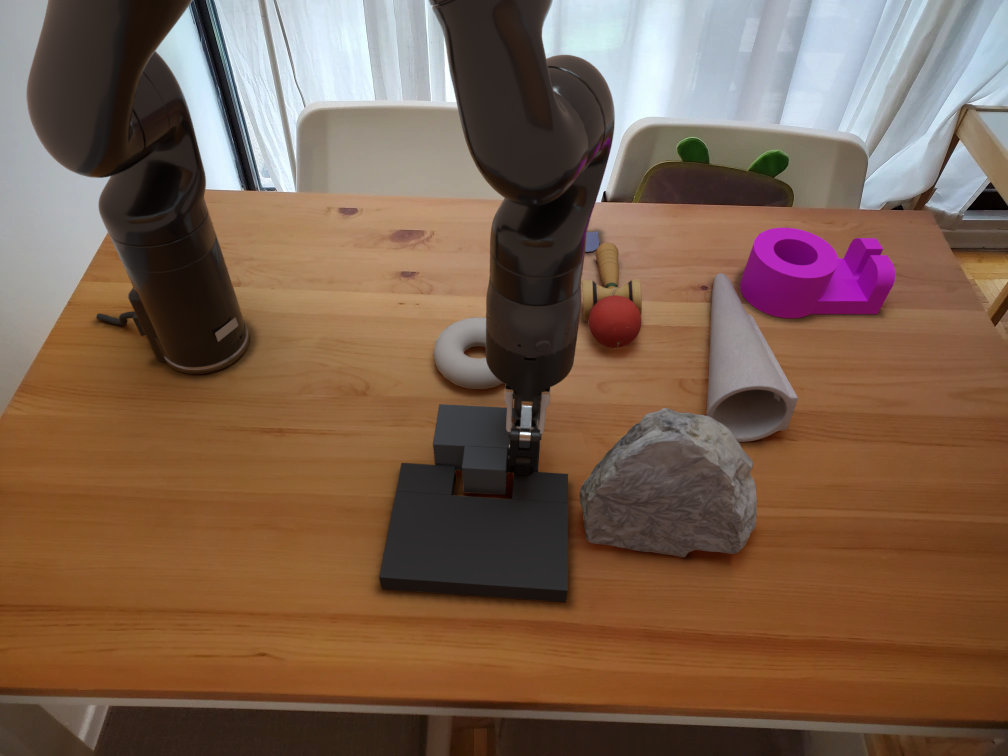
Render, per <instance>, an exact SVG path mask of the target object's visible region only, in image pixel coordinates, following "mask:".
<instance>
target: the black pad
mask: <svg viewBox="0 0 1008 756" xmlns="http://www.w3.org/2000/svg"><path fill="white" fill-rule="evenodd" d="M456 471H457V470H456V468H455V466H444V465H435V464H427V463H413V462H401V463H400V469H399V474H398V479H397V480H398V481H397V485H396V490H395V493H394V499H393V503H392V510H391V515H390V520H389V525H388V530H387V536H386V540H385V545H384V550H383V555H382V561H381V566H380V569H379V570H380V571H379V576H378V578H379V583H380V588H381V590H388V591H400V592H401V591H402V592H416V593H431V594H432V593H433V594H445V595H458V596H474V597H488V598H500V599H513V600H516V599H517V600H528V601H543V602H558V603H566V602H567V598H568V592H569V473H563V472H550V471H549V472H546V471H538V472H533V474H531V475H515V474H513V478H512V492H511V493H512V494H511V498H501V497H485V496H472V495H471V496H469V495H455V490H456V483H457V475H456V474H457V472H456Z"/></svg>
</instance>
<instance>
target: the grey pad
mask: <svg viewBox="0 0 1008 756" xmlns="http://www.w3.org/2000/svg"><path fill="white" fill-rule="evenodd" d="M437 408H438V409H437V415H436V421H435V427H434V434H433V439H432V450H433V459H434V465H444V466H455V468H456V471H460V472H461V475H462V489H463V493H466V494H483V495H499V496H501V495H502V496H505V495H506V494H507V481H508V480H507V479H508V474H512V473H511V471H510V469H511V465H509V461H508V455H509V456H510V449H509V444H510V438H509V433H508V432H507V431H506V416H507V406H506V407H502V406H484V405H466V404H465V405H464V404H447V403H446V404H445V403H440V404H438V407H437ZM539 413H540V410H539ZM539 413H538V415H537V416H536V417H535V418H532V420H537V419H538V418H539ZM512 415H513V417H514V418H515V419H520V420H521V418H519V417H517V416H516V415H515V414H514V407H513V413H512ZM540 454H541V441H540V442H539V451H538V457H539V458H540V457H541V455H540ZM539 467H540V460H539V461H538V463H537V466H536V467H534V472H539Z"/></svg>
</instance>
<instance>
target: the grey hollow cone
mask: <svg viewBox="0 0 1008 756" xmlns="http://www.w3.org/2000/svg"><path fill="white" fill-rule="evenodd" d="M711 293H712V294H711V311H710V332H709V333H710V335H709V354H708V356H709V357H708V377H707V378H708V379H707V380H708V381H707V396H706V415H705V416H709V417H711V418H713V419H714V420H715V421H717V422H719V423H722V424H723V425H725V426H726V427H727V428H728V429H730V431H731V432H732V434H733V435H734V437H735V439H736V440H737V441H738V442H739V443H746V442H747V443H748V442H753V441H758V440H761V439H765V438H767V437H769V436H771V435H773V434H775V433H777V432H779V431H787V430H788V428H789V425H790V422H791V420H792V417H793V415H794V411H795V409H796V406H797V403H798V400H799V397H798V395H797V393H796V391H795V390H794V388H793V386H792V384H791V383H790V380H789V379H788V377H787V375H786V374H785V371H784V370H783V368H782V366H781V364H780V363H779V361H778V360H777V357H776V355H775V354H774V352H773V350H772V348H771V347H770V345H769V343H768V342H767V340H766V338H765V335H764V334H763V333H762V331H761V329H760V326H758V324H757V321H756V320H755V318H754V317H753V314H748V312H747V310H746V308H745V307H744V305H743V303H742V302H741V299H740V297H739V295H738V293H737V291H736V290H735V288H734V285H733V282H732V281H731V279H730V278H729V277H728V275H726V274H725V273H723V272H719V273H717V274H715V275H714V278H713V283H712V292H711Z"/></svg>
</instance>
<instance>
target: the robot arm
mask: <svg viewBox="0 0 1008 756" xmlns="http://www.w3.org/2000/svg"><path fill="white" fill-rule="evenodd" d="M193 1H194V0H47V4H46V9H45V15H44V18H43V22H42V28H41V30H40V34H39V37H38V41H37V45H36V48H35V51H34V55H33V58H32V62H31V66H30V69H29V73H28V77H27V84H26V104H27V111H28V116H29V119H30V123H31V125H32V127H33V130H34V132H35V134H36V136H37V138H38V140H39V142H40V143H41V145H42V146H43V148H44V149H45V150H46V152H47V153H48V154H49V155H50V156H51V157H52V158H53V160H55V161H56V162H57V163H58V164H59V165H60V166H61V167H63V168H65V169H66V170H68V171H70V172H71V173H75V174H77V175H79V176H81V177H82V176H83V177H87V178H92V179H93V178H94V179H96V178H97V179H104V178H109V179H108V180H107V182H106V184H105V186H104V187H103V189H102V190H101V193H100V195H99V197H98V206H97V207H98V213H99V215H100V217H101V220H102V223H103V225H104V227H105V229H106V232H107V233H108V235H109V237H110V240H111V242H112V244H113V246H114V249H115V250H116V252H117V253H116V254H117V255H118V257H119V259H120V262H121V264H122V266H123V268H124V270H125V273H126V275H127V277H128V279H129V281H130V283H131V286H132V288H131V289H130V290H129V292H128V296H127V298H128V300H129V303H130V305H131V307H132V309H133V311H126V312H123V313H120V315H119V316H118V318H117V317H113V316H110V315H107V314H104V313H97V314H96V320H98V321H102V322H104V323H105V322H106V323H109V324H112V325H115V326H126V325H127V323H128V320H129V319H132V320H133V323H134V325H135V326H136V329H137V331H138V333H139V335H140V336H141V337H146V339H147V342H148V343H149V345H150V347H151V350H152V353H153V355H154V356H155V358H156V361H157V362H161V363H162V362H163V363H166V364H167V365H168V366H169V367H171V368H172V369H173V370H175V371H177V372H180V373H184V374H188V375H204V374H209V373H213V372H218V371H220V370H222V369H225V368H227V367H228V366H231V365H232V364H234V363H235V362H237V361H238V360H239V359H240V358H241V357H242V356H243V355H244V354H245V352H246V350H247V349H248V347H249V345H250V339H251V338H250V337H251V336H250V331H249V329H248V326H247V324H246V321H245V319H244V317H243V313H242V311H241V307H240V304H239V300H238V298H237V295H236V292H235V288H234V286H233V282H232V279H231V276H230V273H229V270H228V267H227V263H226V261H225V257H224V255H223V251H222V248H221V245H220V242H219V239H218V236H217V233H216V230H215V227H214V224H213V221H212V218H211V214H210V212H209V211H210V210H209V208H208V205H207V201H206V199H205V194H206V190H207V189H206V188H207V177H206V171H205V167H204V164H203V160H202V159H203V158H202V155H201V152H200V148H199V143H198V139H197V135H196V132H195V128H194V124H193V120H192V116H191V112H190V110H189V106H188V103H187V100H186V97H185V95H184V92H183V89H182V88H181V86H180V84H179V81H178V79H177V77H176V75H175V74H174V73H173V71H172V70H171V68H170V66H169V65H168V64H167V62H166V60H164V58H163V57H162V56H161V55H160V54H159V53H158V52H157V50H158V48H159V47H160V45H161V44H162V43H163V42H164V40H165V39H166V37H167V36H168V35H169V34H170V32H171V31H172V30H173V28H174V27H175V25H177V24H178V22H179V21H180V19H181V18H182V16H183V15H184V14H185V12H186V11H187V10H188V8H189V7H190V6H191V4H192V2H193ZM428 2H429V5H430V6H432V8H431V9H432V12H433V14H434V15H435V18H436V20H437V22H438V24H439V26H440V28H441V31H442V35H443V38H444V43H445V44H444V45H445V49H446V50H445V51H446V55H447V57H446V58H447V63H448V69H449V75H450V79H451V83H452V87H453V93H454V95H455V96H454V97H455V102H456V107H457V111H458V115H459V120H460V125H461V130H462V133H463V136H464V140H465V144H466V146H467V148H468V149H467V150H468V152H469V155H470V156H471V158H472V160H473V162H474V164H475V167H476V168H477V170H478V172H479V173H480V174H481V176H482V177H483V179H484V180H485V182H486V183H487V184H488V185H489V186H490V187H491V189H493V190H494V191H495V192H496V193H497V194H499V195H500V196H502V198H503V200H502V202H501V203H500V204H499V206H498V209H496V213H495V214H494V217H493V219H492V221H491V222H492V223H491V227H490V237H489V278H488V284H487V290H486V295H485V297H486V300H485V318H486V347H485V358H486V362H487V365H488V367H489V369H490V371H491V372H492V373H493V375H494V376H495V377H496V378H497V379H499V380H500V381H501V382H503V383H502V384H505V385H504V398H503V399H504V400H503V402H504V404H505V405H506V408H507V416H506V431H507V432H508V433H509V438H510V444H509V449H510V456H509V455H508V461H509V465H511V469H510V471H511V473H510V474H513V475H514V474H515V475H531V474H533V472H534V467H536V466H537V463H538V461H539V462H540V456H539V457H538V451H539V442H540V443H541V441H542V437H543V436H542V435H543V434H544V433H545V427H546V426H545V425H546V416H547V415H546V413H547V408H548V407H549V406H550V401H551V388H552V387H554V386H556V385H558V384H560V383H561V382H562V381H564V380H565V379H566V378H567V377H568V375H569V374H570V373H571V371H572V369H573V367H574V362H575V356H576V348H577V342H578V334H579V326H580V319H581V310H582V304H583V297H582V278H583V270H584V265H585V264H584V263H585V256H586V252H585V248H586V233H587V232H588V228H589V225H590V222H591V217H592V214H593V211H594V209H595V205H596V202H597V199H598V196H599V192H600V189H601V186H602V183H603V180H604V176H605V173H606V169H607V166H608V162H609V158H610V154H611V150H612V146H613V142H614V141H613V140H614V134H615V124H616V123H615V122H616V121H615V120H616V113H615V104H614V103H615V102H614V98H613V94H612V91H611V89H610V86H609V85H608V82H607V80H606V79H605V77H604V76H603V74H602V73H601V72H600V70H599V69H598V68H597V67H596V66H595V65H594V64H592V63H591V62H590V61H588V60H587V59H585V58H583V57H580V56H576V55H572V54H557V55H552V56H549V57H547V56H546V51H545V46H544V41H543V40H544V39H543V28H544V25H545V21H546V19H547V17H548V14H549V13H550V10H551V8H552V6H553V2H554V0H428ZM513 408H514V414H515V415H516V416H517V417H519V418H521V420H520V419H515V418H514V417H513V415H512V413H513ZM539 410H540V413H539ZM538 413H539V418H538V419H537V420H532V418H535V417H536V416H537V415H538Z"/></svg>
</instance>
